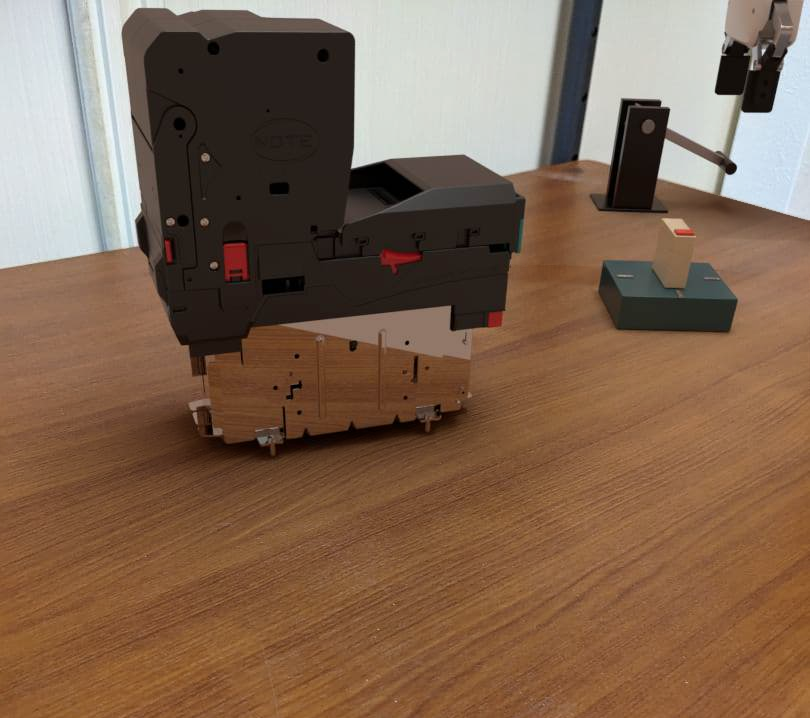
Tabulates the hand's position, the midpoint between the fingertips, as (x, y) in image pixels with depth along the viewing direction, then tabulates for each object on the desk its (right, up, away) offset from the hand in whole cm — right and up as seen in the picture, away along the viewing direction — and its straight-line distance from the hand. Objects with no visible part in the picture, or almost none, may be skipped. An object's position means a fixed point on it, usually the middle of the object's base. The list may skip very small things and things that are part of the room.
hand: (741, 103), depth 101 cm
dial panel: (-14, -27, -17) cm, 35 cm away
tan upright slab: (-14, -25, -19) cm, 34 cm away
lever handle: (-6, -4, +3) cm, 8 cm away
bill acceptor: (-42, -39, -35) cm, 67 cm away
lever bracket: (-11, -10, +7) cm, 16 cm away
